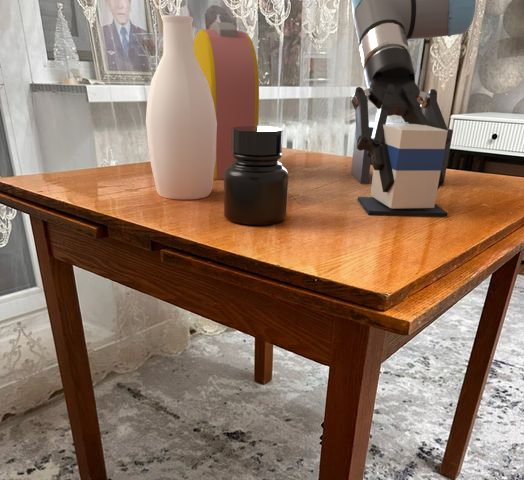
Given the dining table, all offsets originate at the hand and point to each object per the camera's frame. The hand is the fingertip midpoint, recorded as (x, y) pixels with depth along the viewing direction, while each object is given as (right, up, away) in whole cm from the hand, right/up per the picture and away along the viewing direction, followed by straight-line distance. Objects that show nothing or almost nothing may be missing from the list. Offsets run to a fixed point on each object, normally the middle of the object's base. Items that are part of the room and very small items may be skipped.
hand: (413, 186), depth 81 cm
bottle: (-36, +1, +10) cm, 37 cm away
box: (-1, -1, +4) cm, 5 cm away
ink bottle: (-24, -6, -3) cm, 25 cm away
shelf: (+4, +10, +28) cm, 30 cm away
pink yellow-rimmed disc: (-31, +13, +32) cm, 46 cm away
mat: (-1, -2, +5) cm, 5 cm away
